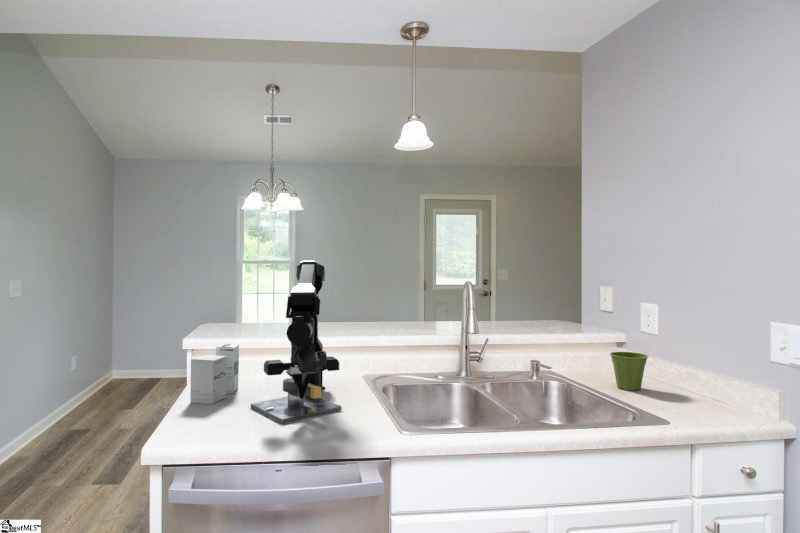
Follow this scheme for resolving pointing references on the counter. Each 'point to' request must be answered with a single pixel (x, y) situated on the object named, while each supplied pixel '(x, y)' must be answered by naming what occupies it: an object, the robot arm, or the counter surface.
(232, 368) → the syrup box
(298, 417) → the base
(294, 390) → the handle
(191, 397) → the supplement box
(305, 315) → the robot arm
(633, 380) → the plant pot
